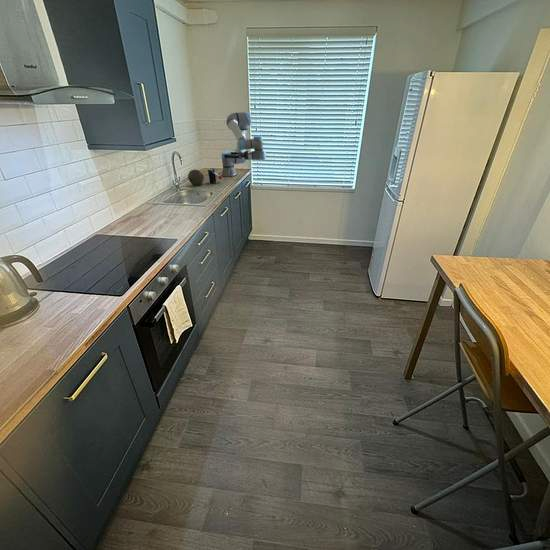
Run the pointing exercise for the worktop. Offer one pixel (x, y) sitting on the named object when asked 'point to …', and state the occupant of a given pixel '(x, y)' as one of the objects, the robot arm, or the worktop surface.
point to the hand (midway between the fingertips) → (227, 154)
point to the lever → (217, 175)
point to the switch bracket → (212, 177)
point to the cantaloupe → (195, 177)
